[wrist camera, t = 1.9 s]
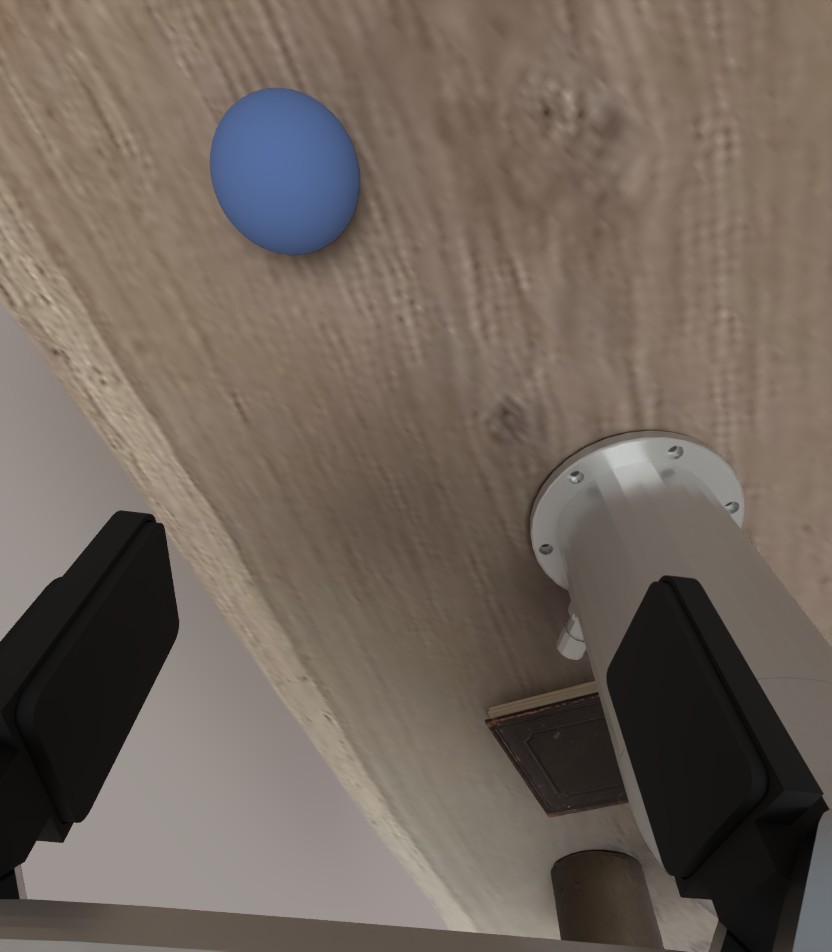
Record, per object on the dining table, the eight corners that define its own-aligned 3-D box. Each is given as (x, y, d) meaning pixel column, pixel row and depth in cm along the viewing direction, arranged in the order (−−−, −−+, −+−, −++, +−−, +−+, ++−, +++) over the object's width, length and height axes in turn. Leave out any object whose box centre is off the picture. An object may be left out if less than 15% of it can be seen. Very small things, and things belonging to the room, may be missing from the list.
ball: (358, 255, 27) (337, 281, 22) (237, 228, 26) (186, 249, 21) (377, 111, 24) (358, 102, 18) (240, 79, 23) (181, 61, 18)
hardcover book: (483, 698, 45) (485, 723, 43) (779, 621, 39) (797, 646, 37) (547, 795, 52) (550, 821, 50) (805, 743, 46) (821, 770, 44)
